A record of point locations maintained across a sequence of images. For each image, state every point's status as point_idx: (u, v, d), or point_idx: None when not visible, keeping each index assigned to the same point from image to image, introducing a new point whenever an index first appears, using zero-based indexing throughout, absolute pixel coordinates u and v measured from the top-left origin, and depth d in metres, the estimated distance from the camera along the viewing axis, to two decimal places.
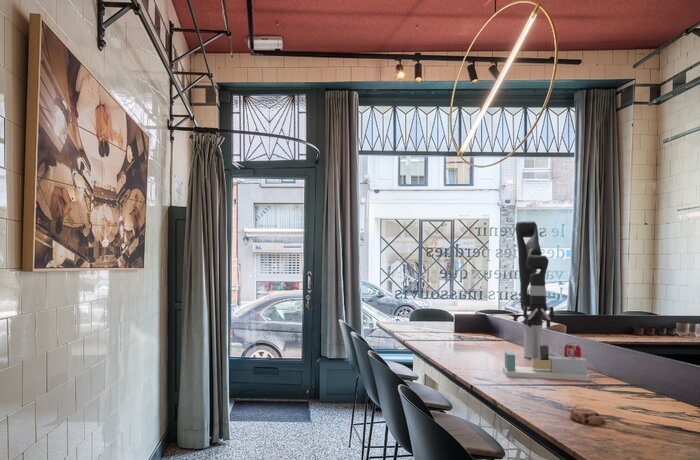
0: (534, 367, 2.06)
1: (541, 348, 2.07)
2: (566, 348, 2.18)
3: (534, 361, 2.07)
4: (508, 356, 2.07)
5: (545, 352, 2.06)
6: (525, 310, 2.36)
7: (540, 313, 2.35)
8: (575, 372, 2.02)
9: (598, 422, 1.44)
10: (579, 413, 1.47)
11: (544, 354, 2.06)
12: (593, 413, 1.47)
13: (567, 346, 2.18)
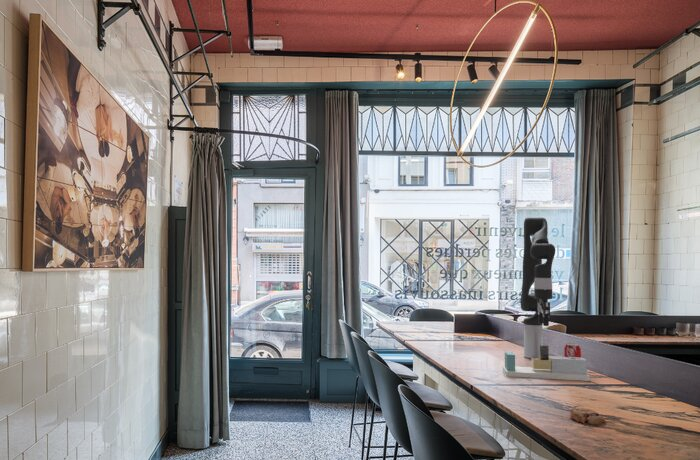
0: (534, 367, 2.06)
1: (541, 348, 2.07)
2: (566, 348, 2.18)
3: (534, 361, 2.07)
4: (508, 356, 2.07)
5: (545, 352, 2.06)
6: (549, 307, 2.03)
7: None
8: (575, 372, 2.02)
9: (598, 422, 1.44)
10: (579, 413, 1.47)
11: (544, 354, 2.06)
12: (593, 413, 1.47)
13: (567, 346, 2.18)
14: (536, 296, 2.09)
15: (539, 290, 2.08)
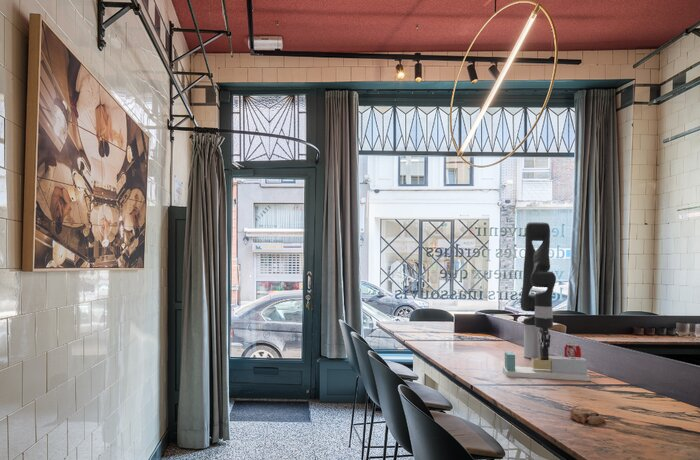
0: (534, 367, 2.06)
1: (541, 348, 2.07)
2: (566, 348, 2.18)
3: (534, 361, 2.07)
4: (508, 356, 2.07)
5: None
6: (549, 339, 2.03)
7: None
8: (575, 372, 2.02)
9: (598, 422, 1.44)
10: (579, 413, 1.47)
11: None
12: (593, 413, 1.47)
13: (567, 346, 2.18)
14: (536, 325, 2.08)
15: (539, 319, 2.07)
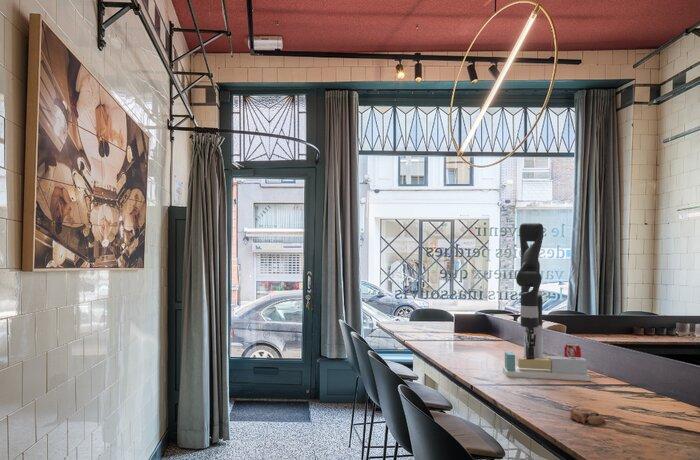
0: (520, 366, 2.07)
1: (527, 347, 2.08)
2: (566, 348, 2.18)
3: (520, 360, 2.08)
4: (508, 356, 2.07)
5: None
6: (535, 338, 2.04)
7: None
8: (575, 372, 2.02)
9: (598, 422, 1.44)
10: (579, 413, 1.47)
11: None
12: (593, 413, 1.47)
13: (567, 346, 2.18)
14: (522, 324, 2.09)
15: (525, 318, 2.08)
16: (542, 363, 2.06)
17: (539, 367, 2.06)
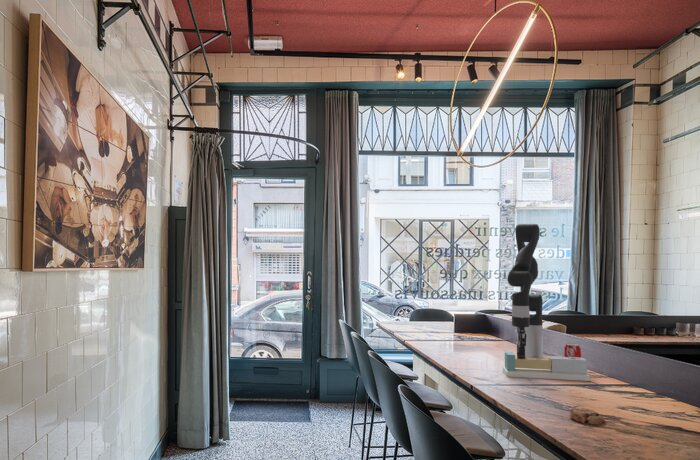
0: None
1: (518, 347, 2.09)
2: (566, 348, 2.18)
3: None
4: (508, 356, 2.07)
5: None
6: (525, 338, 2.04)
7: None
8: (575, 372, 2.02)
9: (598, 422, 1.44)
10: (579, 413, 1.47)
11: None
12: (593, 413, 1.47)
13: (567, 346, 2.18)
14: (513, 324, 2.09)
15: (516, 318, 2.08)
16: (533, 362, 2.07)
17: (530, 367, 2.07)
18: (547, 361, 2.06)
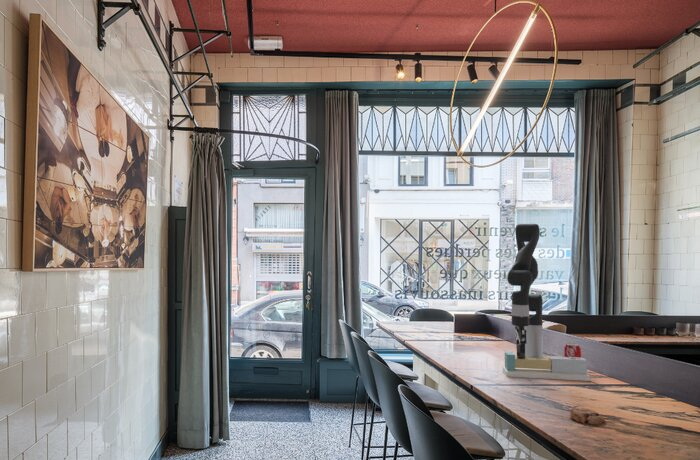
0: None
1: (518, 347, 2.09)
2: (566, 348, 2.18)
3: None
4: (508, 356, 2.07)
5: None
6: (525, 334, 2.04)
7: None
8: (575, 372, 2.02)
9: (598, 422, 1.44)
10: (579, 413, 1.47)
11: (521, 353, 2.08)
12: (593, 413, 1.47)
13: (567, 346, 2.18)
14: (513, 323, 2.10)
15: (516, 317, 2.08)
16: (533, 362, 2.07)
17: (530, 367, 2.07)
18: (547, 361, 2.06)
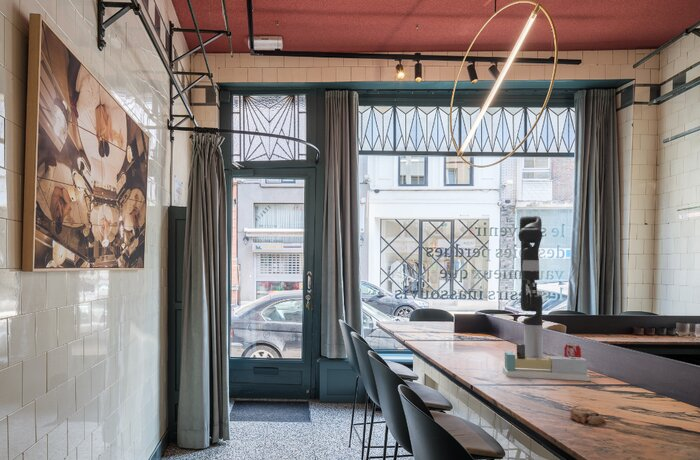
0: None
1: (518, 347, 2.09)
2: (566, 348, 2.18)
3: None
4: (508, 356, 2.07)
5: (521, 351, 2.08)
6: None
7: None
8: (575, 372, 2.02)
9: (598, 422, 1.44)
10: (579, 413, 1.47)
11: (521, 353, 2.08)
12: (593, 413, 1.47)
13: (567, 346, 2.18)
14: (524, 277, 2.23)
15: (527, 272, 2.22)
16: (533, 362, 2.07)
17: (530, 367, 2.07)
18: (547, 361, 2.06)
